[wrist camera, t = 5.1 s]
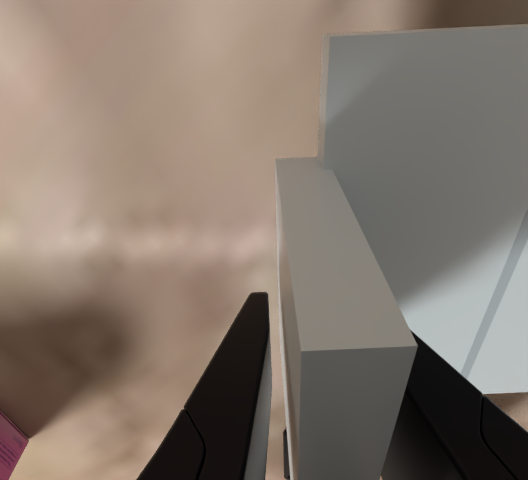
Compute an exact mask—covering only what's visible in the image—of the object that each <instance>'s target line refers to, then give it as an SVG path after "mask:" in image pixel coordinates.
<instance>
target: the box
mask: <svg viewBox="0 0 528 480" xmlns="http://www.w3.org/2000/svg"><path fill="white" fill-rule="evenodd" d="M28 442H29V440H28V438H27V437H26V436H25V435H24V434H23V433H22V432H21V431H20V430H19V429H18V427H17V426H16V425H15V424H14V423H13V422H12V421H11V420H10V419H9V418H8V417H7V416H6V415H5V414H4V413H3V412H2V411H1V410H0V480H9V478H10V476H11V474H12V472H13V470H14V468H15V466H16V464H17V462H18V461H19V459H20V457H21V455H22V453H23V451H24V449H25V447H26V446H27V444H28Z"/></svg>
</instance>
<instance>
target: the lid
mask: <svg viewBox="0 0 528 480" xmlns="http://www.w3.org/2000/svg"><path fill="white" fill-rule="evenodd" d="M275 181H276V220H277V259H278V298H279V336H280V349H281V362H282V375H283V388H284V402H285V415H286V428H287V441H288V454H289V467H290V480H379V479H380V476H381V472H382V469H383V465H384V462H385V458H386V455H387V451H388V448H389V444H390V441H391V438H392V434H393V431H394V427H395V424H396V420H397V417H398V413H399V410H400V406H401V403H402V399H403V396H404V392H405V389H406V385H407V382H408V378H409V375H410V372H411V368H412V365H413V361H414V358H415V354H416V351H417V347H418V345H417V343H416V341H415V339H414V337H413V335H412V333H411V331H412V332H414V333H415V334H416V335H417V336H418V337H419V338H420V339H422V340H423V341H424V342H425V343H426V344H427V345H428V346H430V347H431V348H432V349H433V350H434V351H435V352H436V353H437V354H439V355H440V356H441V357H442V358H443V359H444V360H445V361H447V362H448V363H449V364H450V365H451V366H452V367H453V368H455V369H456V370H457V371H458V372H459V373H460V374H461V375H462V376H464V377H465V378H466V379H467V380H468V381H469V382H470V383H472V384H473V385H474V386H475V387H476V388H477V389H478V390H480V391H481V392H482V394H496V393H519V392H528V24H516V25H496V26H475V27H455V28H435V29H414V30H394V31H374V32H353V33H333V34H323V38H322V61H321V85H320V109H319V133H318V157H303V158H282V159H275ZM410 330H411V331H410Z"/></svg>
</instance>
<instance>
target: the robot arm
mask: <svg viewBox="0 0 528 480" xmlns="http://www.w3.org/2000/svg"><path fill="white" fill-rule="evenodd" d="M410 331H411V330H410ZM411 333H412V335H413V337H414V339H415V341H416V343H417V345H418V347H417V351H416V354H415V358H414V361H413V365H412V368H411V372H410V375H409V378H408V382H407V385H406V389H405V392H404V396H403V399H402V403H401V406H400V410H399V413H398V417H397V420H396V424H395V427H394V431H393V434H392V438H391V441H390V444H389V448H388V451H387V455H386V458H385V462H384V465H383V469H382V472H381V477H382V480H528V432H527V431H526V430H525V429H524V428H523V427H521V426H520V425H519V424H518V423H517V422H515V421H514V420H513V419H512V418H511V417H510V416H508V415H507V414H506V413H505V412H504V411H502V410H501V409H500V408H499V407H498V406H497V405H496V404H495V403H493V402H492V401H491V400H490V399H489V398H488V397H486V396H483V394H482V392H481V391H480V390H478V389H477V388H476V387H475V386H474V385H473V384H472V383H470V382H469V381H468V380H467V379H466V378H465V377H464V376H462V375H461V374H460V373H459V372H458V371H457V370H456V369H455V368H453V367H452V366H451V365H450V364H449V363H448V362H447V361H445V360H444V359H443V358H442V357H441V356H440V355H439V354H437V353H436V352H435V351H434V350H433V349H432V348H431V347H430V346H428V345H427V344H426V343H425V342H424V341H423V340H422V339H420V338H419V337H418V336H417V335H416V334H415V333H414V332H412V331H411ZM271 395H272V368H271V346H270V324H269V302H268V293H267V292H253V293H251V294H250V295H249V296H248V298H247V300H246V301H245V303H244V305H243V307H242V308H241V310H240V312H239V313H238V315H237V317H236V318H235V320H234V322H233V324H232V325H231V327H230V329H229V330H228V332H227V334H226V335H225V337H224V339H223V341H222V342H221V344H220V346H219V347H218V349H217V351H216V352H215V354H214V356H213V358H212V359H211V361H210V363H209V364H208V366H207V368H206V370H205V371H204V373H203V375H202V376H201V378H200V380H199V381H198V383H197V385H196V387H195V388H194V390H193V392H192V393H191V395H190V397H189V398H188V400H187V402H186V404H185V405H184V409H182V410H181V412H180V413H179V415H178V417H177V419H176V420H175V422H174V424H173V425H172V427H171V429H170V430H169V432H168V433H167V435H166V437H165V438H164V440H163V441H162V443H161V445H160V446H159V448H158V449H157V451H156V452H155V454H154V455H153V457H152V458H151V460H150V461H149V462H148V464H147V465H146V467H145V468H144V470H143V471H142V472H141V474H140V475H139V477H138V478H137V479H136V480H265V473H266V460H267V447H268V434H269V421H270V408H271ZM283 450H284V478H285V479H287V480H290V467H289V454H288V441H287V429H285V430H284V431H283Z"/></svg>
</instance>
